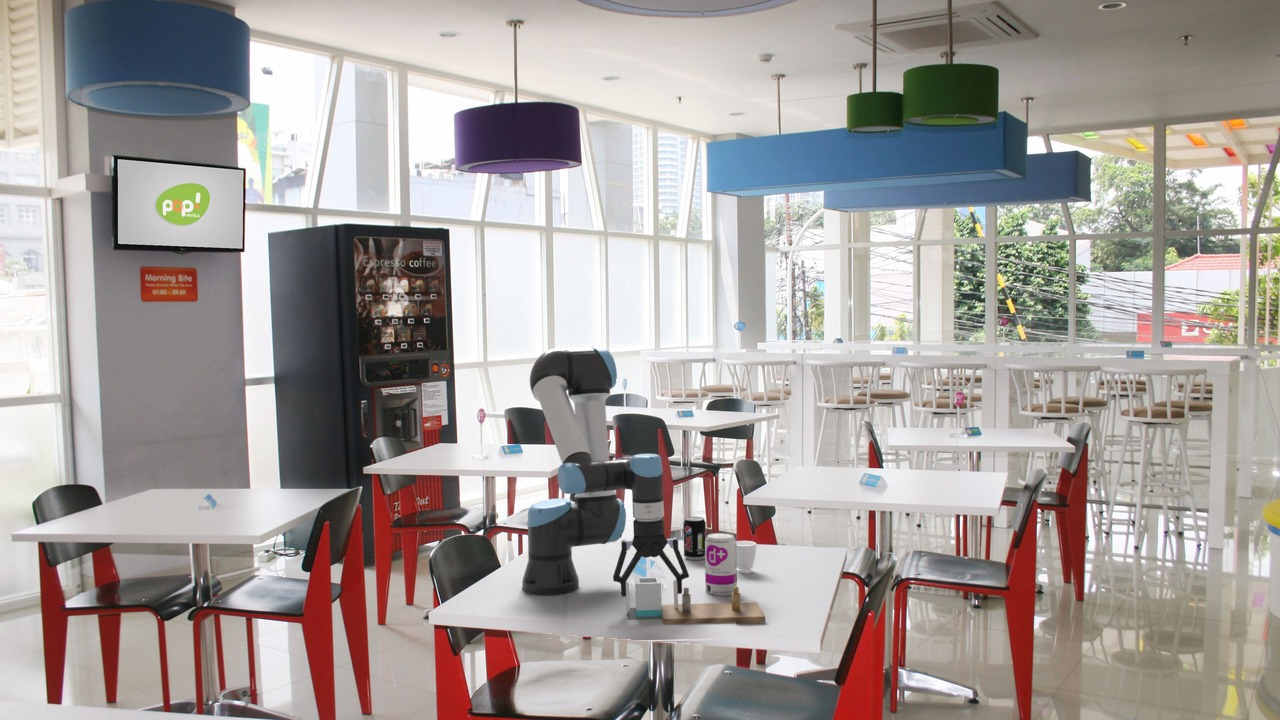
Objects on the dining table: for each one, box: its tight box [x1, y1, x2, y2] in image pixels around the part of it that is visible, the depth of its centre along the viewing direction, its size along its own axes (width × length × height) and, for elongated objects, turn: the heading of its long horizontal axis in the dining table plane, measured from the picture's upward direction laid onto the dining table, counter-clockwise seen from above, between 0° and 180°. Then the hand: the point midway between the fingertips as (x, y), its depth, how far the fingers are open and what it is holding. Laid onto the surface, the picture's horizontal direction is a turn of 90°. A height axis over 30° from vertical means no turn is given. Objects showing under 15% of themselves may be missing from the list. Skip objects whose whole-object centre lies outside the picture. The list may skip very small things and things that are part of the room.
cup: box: [736, 540, 758, 574], centre depth 279 cm, size 7×10×8 cm
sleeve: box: [634, 576, 663, 617], centre depth 238 cm, size 6×6×8 cm
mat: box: [627, 607, 662, 621], centre depth 238 cm, size 10×10×1 cm
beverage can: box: [683, 516, 707, 561], centre depth 296 cm, size 7×7×12 cm
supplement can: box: [704, 532, 738, 597], centre depth 257 cm, size 8×8×15 cm
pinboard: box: [661, 586, 766, 625], centre depth 236 cm, size 24×12×7 cm, turn 92°
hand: (652, 608), depth 238 cm, fingers open, 11 cm apart
